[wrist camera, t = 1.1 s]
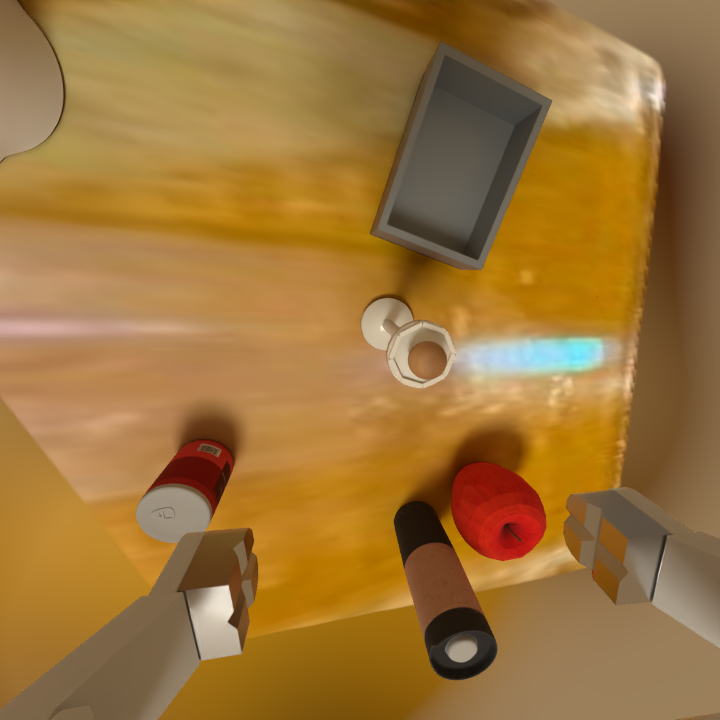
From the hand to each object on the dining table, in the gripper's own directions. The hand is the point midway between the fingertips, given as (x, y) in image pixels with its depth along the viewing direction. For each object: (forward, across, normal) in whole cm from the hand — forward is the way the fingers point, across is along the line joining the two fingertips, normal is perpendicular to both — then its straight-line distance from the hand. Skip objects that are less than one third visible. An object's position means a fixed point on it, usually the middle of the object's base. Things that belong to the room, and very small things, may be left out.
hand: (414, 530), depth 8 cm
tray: (+37, -13, -17) cm, 43 cm away
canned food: (+38, +22, +19) cm, 47 cm away
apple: (+38, -18, +26) cm, 50 cm away
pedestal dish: (+38, -5, +1) cm, 38 cm away
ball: (+19, -6, +1) cm, 20 cm away
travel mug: (+38, -9, +34) cm, 52 cm away
